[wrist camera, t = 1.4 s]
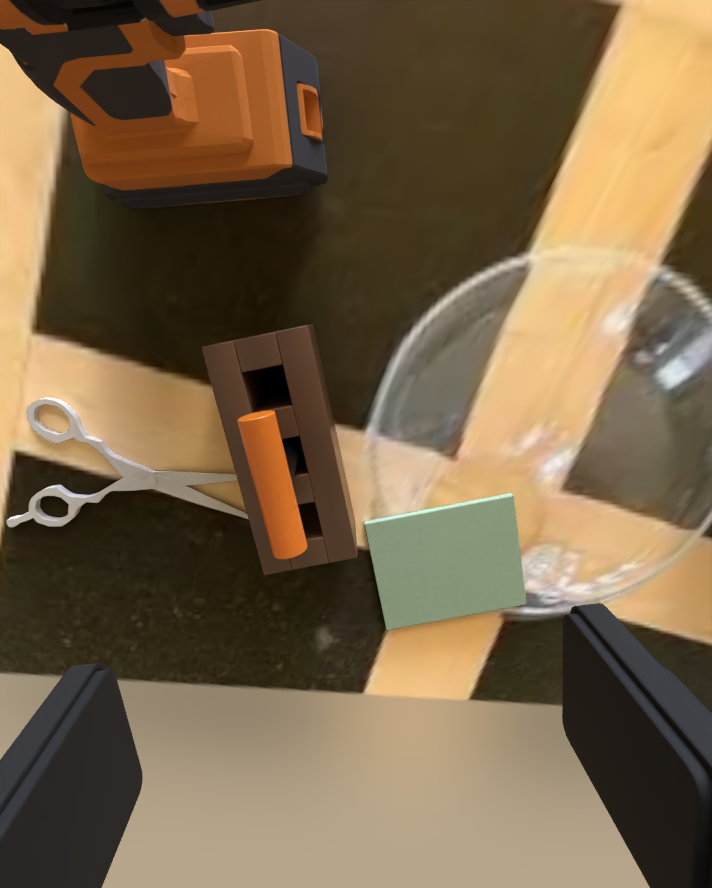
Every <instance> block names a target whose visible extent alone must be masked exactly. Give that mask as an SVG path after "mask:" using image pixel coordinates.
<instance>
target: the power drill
mask: <svg viewBox="0 0 712 888" xmlns="http://www.w3.org/2000/svg"><path fill="white" fill-rule="evenodd" d="M255 1H260V0H0V44H2V45H3V46H5V47H6V48H7V49H9V50H10V52H11V53H12V54H13V56H14V58H15V60H16V61H17V63H18V64H19V66H20V67H21V69H22V70H23V71H24V73H25V74H26V75H27V76H28V77H29V78H30V79H31V80H32V81H33V83H34V84H35V85H36V86H37V87H38V88H39V89H40V90H41V91H43V92H44V93H45V94H46V95H47V96H48V97H50V98H51V99H52V100H54V101H55V102H56V103H57V104H59V105H60V106H62V107H63V108H65V109H66V110H68V111H69V112H70V115H71V120H72V124H73V128H74V132H75V137H76V141H77V145H78V149H79V153H80V156H81V159H82V163H83V167H84V171H85V173H86V174H87V176H88V177H89V178H90V179H92V180H94V181H95V182H98V183H102V184H103V189H104V194H105V195H106V196H108V197H110V198H112V199H114V200H115V201H116V202H117V203H118V204H121V205H123V206H125V207H128V208H130V209H150V208H161V207H173V206H185V205H196V204H208V203H220V202H232V201H243V200H255V199H267V198H278V197H290V196H302V195H306V194H309V193H310V192H311V187H312V186H317V185H321V184H324V183H326V182H327V180H328V174H327V164H326V153H325V142H324V131H323V120H322V109H321V98H320V88H319V77H318V67H317V59H316V58H315V57H314V56H313V55H311V54H310V53H308V52H307V51H305V50H304V49H302V48H300V47H299V46H297V45H296V44H294V43H292V42H291V41H289V40H288V39H286V38H285V37H283V36H281V35H280V34H278V33H276V32H275V31H272V30H268V29H262V30H249V31H236V32H223V33H212V32H213V31H214V24H213V16H212V10H217V9H221V8H226V7H231V6H236V5H241V4H245V3H250V2H255Z"/></svg>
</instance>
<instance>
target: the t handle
mask: <svg viewBox="0 0 712 888" xmlns="http://www.w3.org/2000/svg"><path fill="white" fill-rule="evenodd" d="M238 425H239V429H240V433H241V436H242V440H243V444H244V448H245V451H246V455H247V459H248V463H249V466H250V470H251V474H252V478H253V482H254V485H255V489H256V493H257V497H258V500H259V504H260V508H261V512H262V515H263V519H264V523H265V527H266V530H267V534H268V538H269V542H270V545H271V549H272V553H273V556H274V557H275V558H277V559H289V558H293V557H296V556H298V555H300V554H302V553H303V552H304V551H305V550H306V549H307V546H308V545H307V541H306V537H305V533H304V529H303V524H302V520H301V516H300V512H299V508H298V504H297V500H296V496H295V492H294V488H293V484H292V481H293V477H294V474H295V471H296V467H297V464H298V460H299V457H300V453H301V450H302V444H301V440H300V436H296V437H291V438H286V439H281V434H280V430H279V426H278V422H277V418H276V414H275V411H272V410H267V411H260V412H255V413H251V414H248V415H245V416H242V417H240V418H239V419H238Z"/></svg>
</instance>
